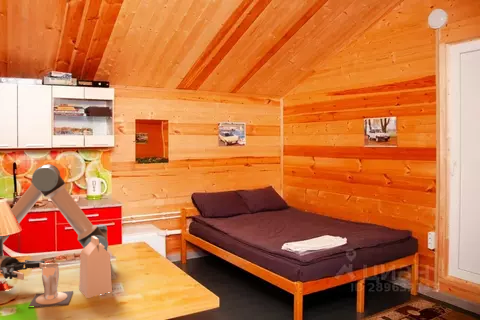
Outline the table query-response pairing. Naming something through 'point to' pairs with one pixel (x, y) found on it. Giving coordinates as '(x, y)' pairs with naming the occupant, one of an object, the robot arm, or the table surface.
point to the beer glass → (50, 280)
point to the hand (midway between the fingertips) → (36, 272)
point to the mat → (60, 301)
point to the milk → (95, 269)
